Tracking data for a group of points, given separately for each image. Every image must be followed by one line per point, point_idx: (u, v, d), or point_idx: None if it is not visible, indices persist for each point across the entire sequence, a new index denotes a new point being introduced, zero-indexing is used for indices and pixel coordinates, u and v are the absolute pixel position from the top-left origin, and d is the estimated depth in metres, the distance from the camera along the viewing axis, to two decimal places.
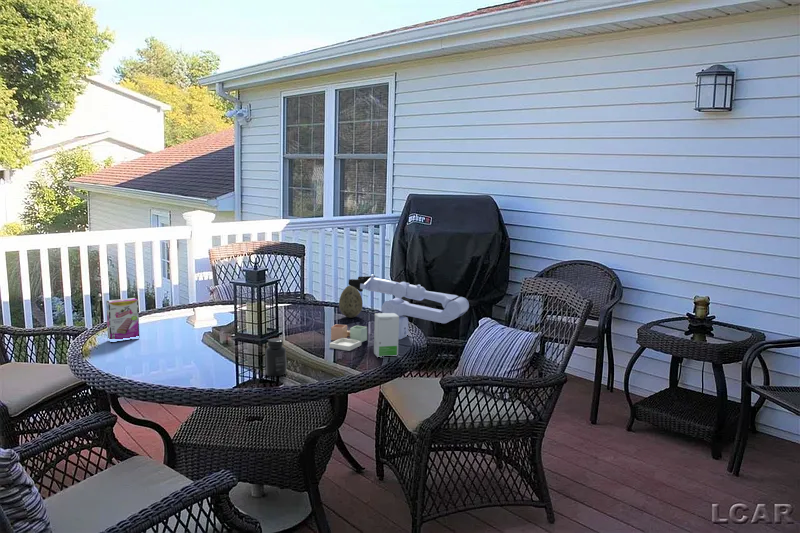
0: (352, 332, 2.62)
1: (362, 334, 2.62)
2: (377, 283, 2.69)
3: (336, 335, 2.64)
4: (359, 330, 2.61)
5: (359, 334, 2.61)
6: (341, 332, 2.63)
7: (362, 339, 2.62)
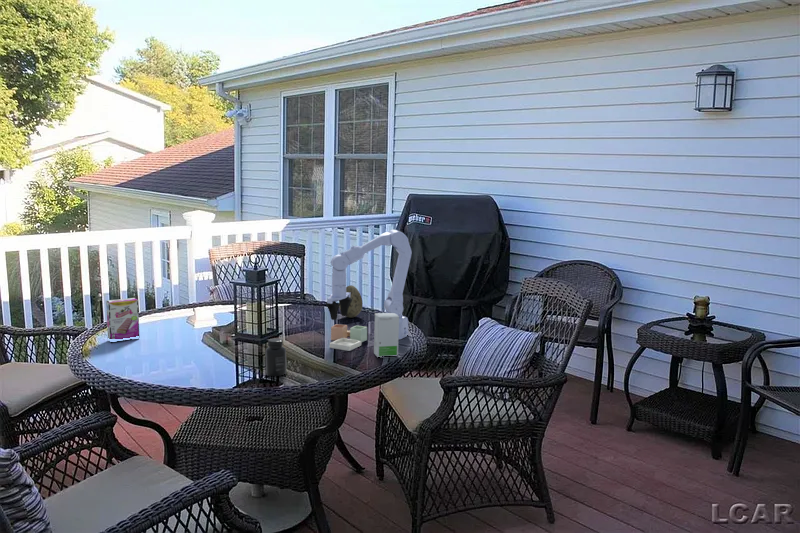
0: (352, 332, 2.62)
1: (362, 334, 2.62)
2: (333, 287, 2.61)
3: (336, 335, 2.64)
4: (359, 330, 2.61)
5: (359, 334, 2.61)
6: (341, 332, 2.63)
7: (362, 339, 2.62)
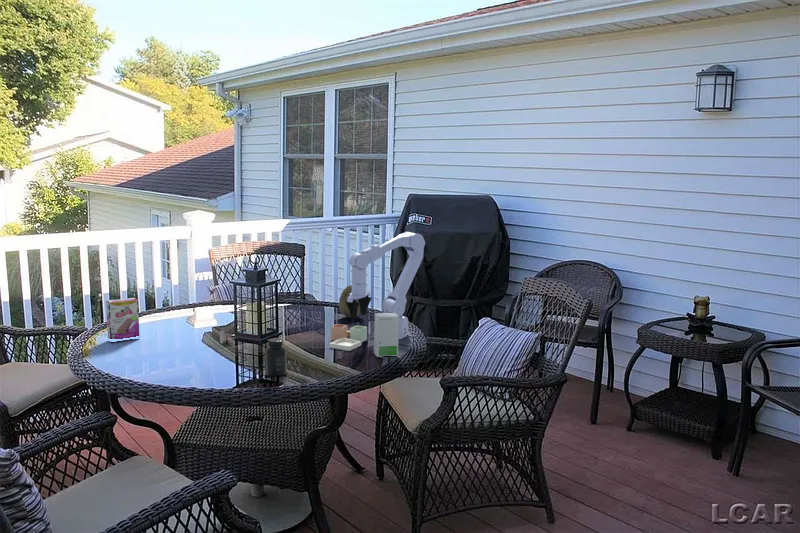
0: (352, 332, 2.62)
1: (362, 334, 2.62)
2: (352, 286, 2.59)
3: (336, 335, 2.64)
4: (359, 330, 2.61)
5: (359, 334, 2.61)
6: (341, 332, 2.63)
7: (362, 339, 2.62)
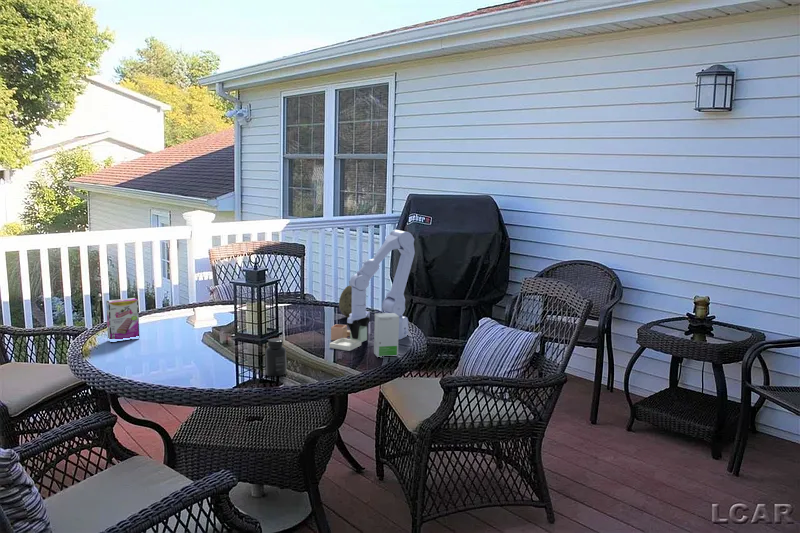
0: None
1: (362, 334, 2.62)
2: (352, 307, 2.61)
3: (336, 335, 2.64)
4: (359, 330, 2.61)
5: (359, 334, 2.61)
6: (341, 332, 2.63)
7: (362, 339, 2.62)
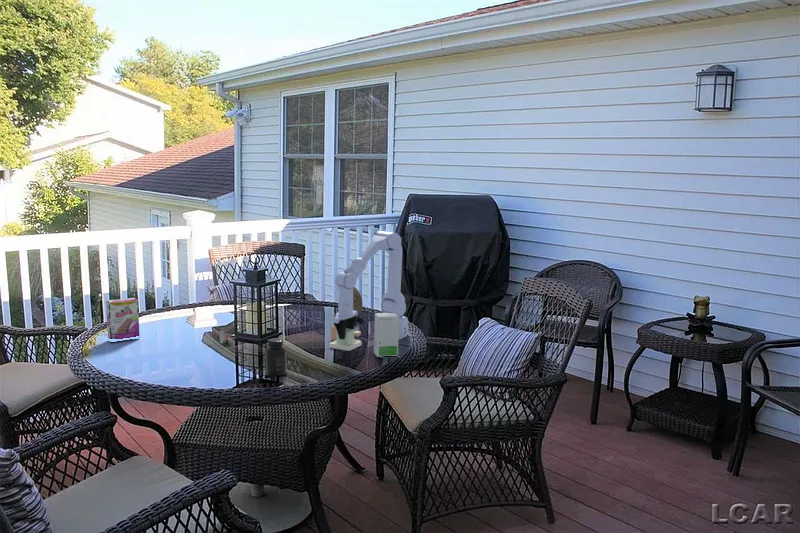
0: None
1: (349, 337, 2.53)
2: (339, 306, 2.52)
3: (336, 335, 2.64)
4: (346, 333, 2.52)
5: (346, 337, 2.52)
6: None
7: (349, 342, 2.53)
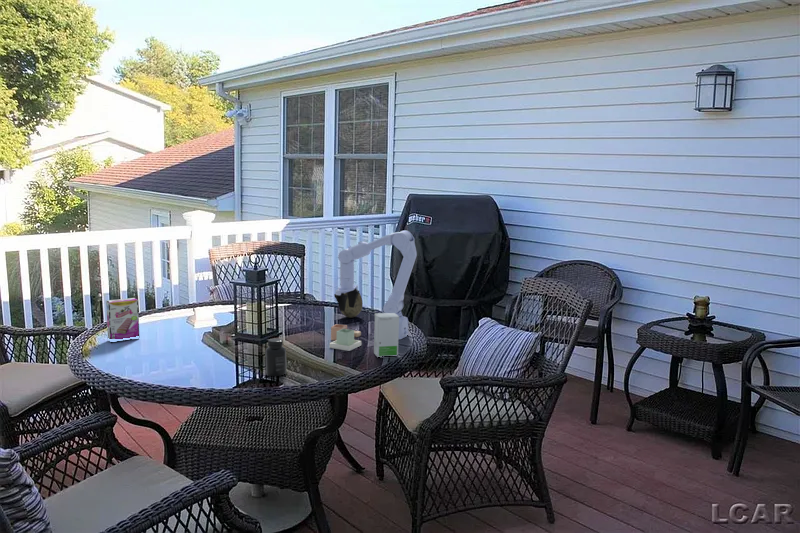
0: (338, 336, 2.54)
1: (349, 338, 2.53)
2: (341, 279, 2.72)
3: (336, 335, 2.64)
4: (346, 333, 2.52)
5: (346, 338, 2.52)
6: None
7: (349, 343, 2.53)
